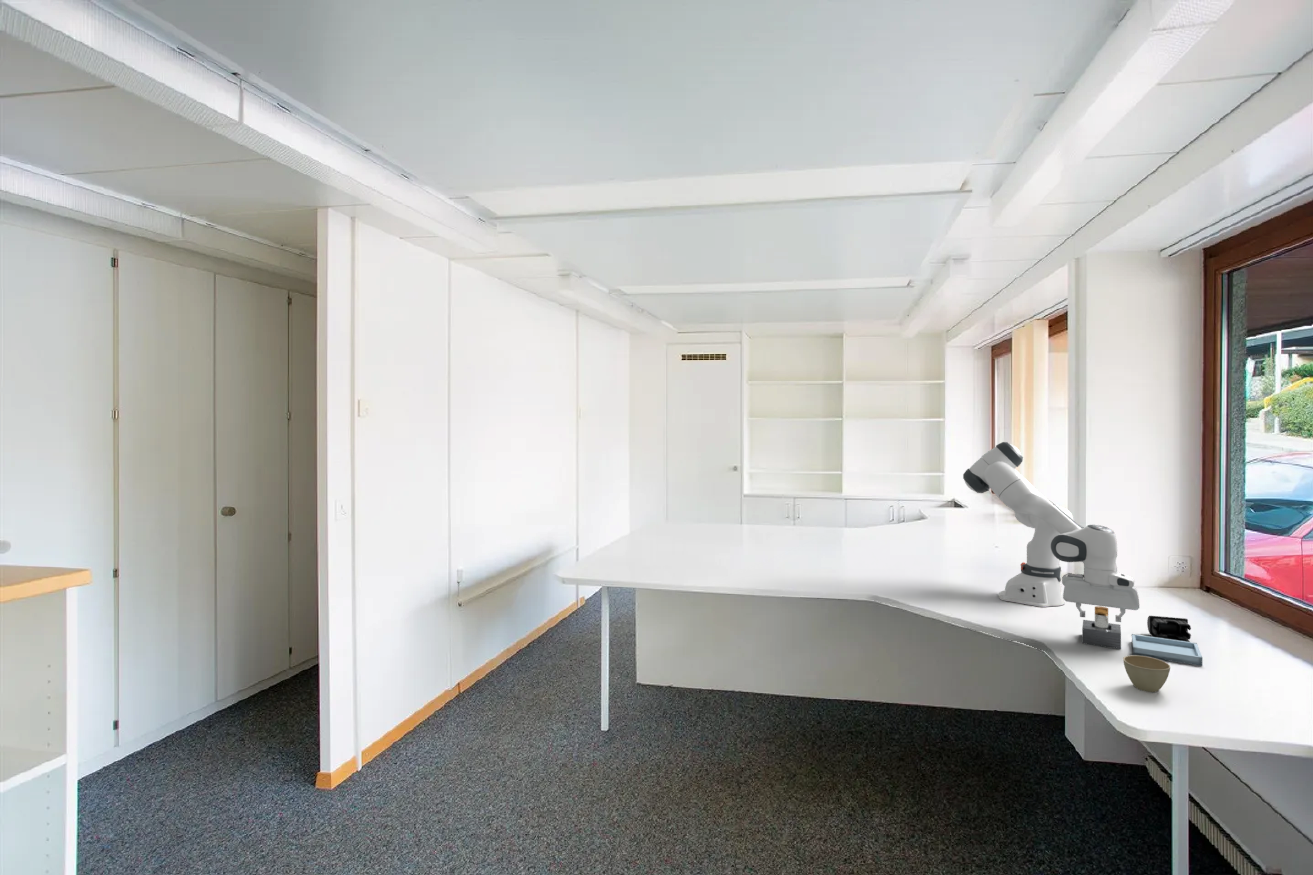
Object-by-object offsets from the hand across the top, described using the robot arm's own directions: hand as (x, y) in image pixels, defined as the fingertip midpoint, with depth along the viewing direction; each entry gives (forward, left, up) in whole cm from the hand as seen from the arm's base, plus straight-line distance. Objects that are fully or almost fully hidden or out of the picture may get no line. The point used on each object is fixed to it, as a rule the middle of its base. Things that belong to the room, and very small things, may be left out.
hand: (1100, 619), depth 206 cm
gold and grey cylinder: (0, 0, -7) cm, 7 cm away
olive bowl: (+10, -36, -8) cm, 38 cm away
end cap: (+18, +15, -8) cm, 25 cm away
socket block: (0, 0, -7) cm, 7 cm away
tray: (+16, -2, -7) cm, 18 cm away
